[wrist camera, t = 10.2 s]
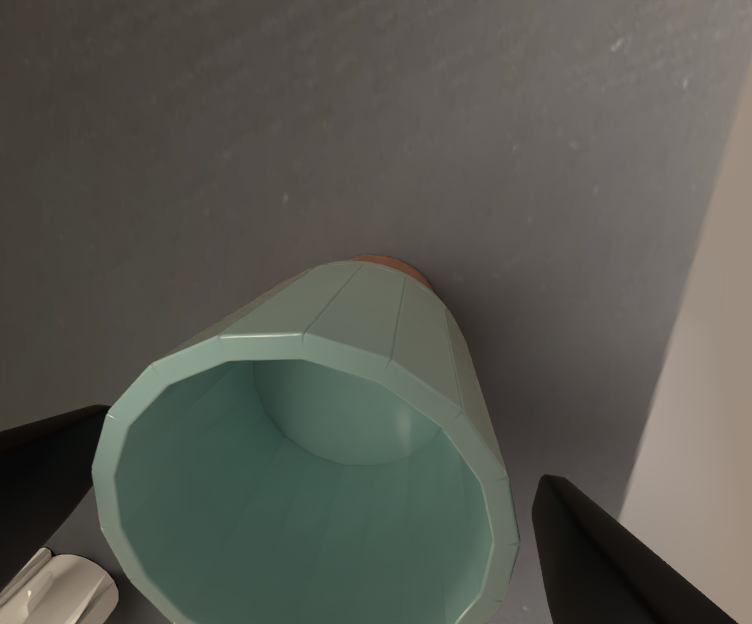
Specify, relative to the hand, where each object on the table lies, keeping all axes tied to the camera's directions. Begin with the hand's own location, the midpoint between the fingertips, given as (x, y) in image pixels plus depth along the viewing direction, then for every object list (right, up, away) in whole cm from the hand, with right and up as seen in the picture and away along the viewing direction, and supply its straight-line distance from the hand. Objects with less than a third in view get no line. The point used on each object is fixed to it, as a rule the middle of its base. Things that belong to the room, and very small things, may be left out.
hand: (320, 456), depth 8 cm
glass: (+1, +1, +4) cm, 4 cm away
